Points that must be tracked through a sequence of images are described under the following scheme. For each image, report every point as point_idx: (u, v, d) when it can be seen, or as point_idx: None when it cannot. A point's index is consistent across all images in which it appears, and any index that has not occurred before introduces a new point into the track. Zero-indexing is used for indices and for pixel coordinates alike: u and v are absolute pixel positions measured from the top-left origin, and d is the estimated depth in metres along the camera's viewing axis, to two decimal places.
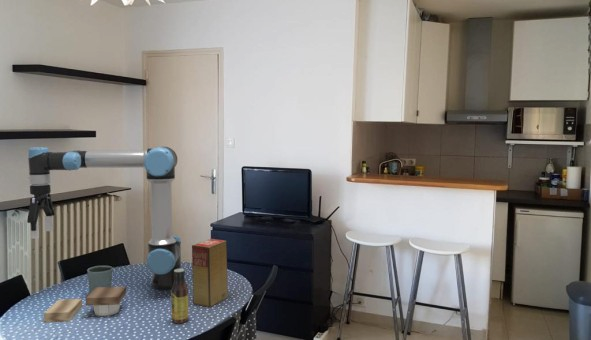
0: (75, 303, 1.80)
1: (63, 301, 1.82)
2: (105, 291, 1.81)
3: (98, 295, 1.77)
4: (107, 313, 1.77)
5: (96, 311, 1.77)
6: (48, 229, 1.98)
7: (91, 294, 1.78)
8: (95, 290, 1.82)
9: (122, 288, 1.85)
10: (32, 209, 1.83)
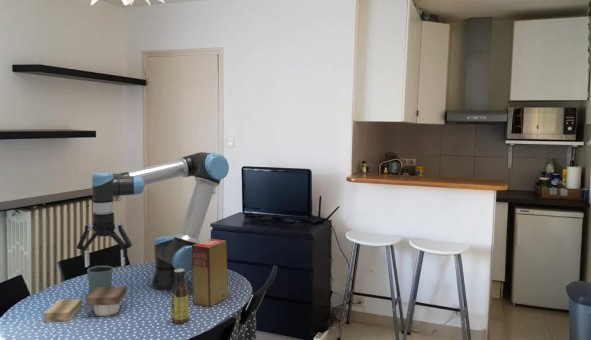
0: (75, 303, 1.80)
1: (63, 301, 1.82)
2: (105, 291, 1.81)
3: (98, 295, 1.77)
4: (107, 313, 1.77)
5: (96, 311, 1.77)
6: None
7: (91, 294, 1.78)
8: (95, 290, 1.82)
9: (122, 288, 1.85)
10: None
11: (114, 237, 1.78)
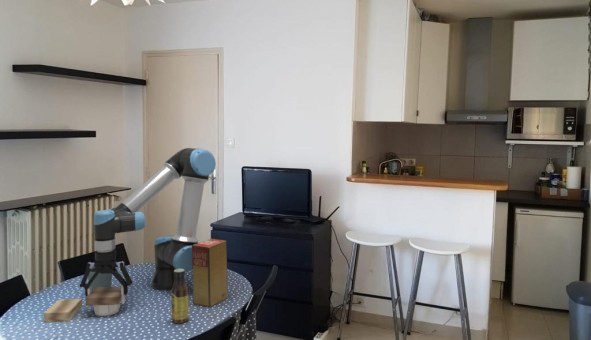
0: (75, 303, 1.80)
1: (63, 301, 1.82)
2: (105, 291, 1.81)
3: (98, 295, 1.77)
4: (107, 313, 1.77)
5: (96, 311, 1.77)
6: None
7: (91, 294, 1.78)
8: (95, 290, 1.82)
9: None
10: None
11: (115, 275, 1.79)
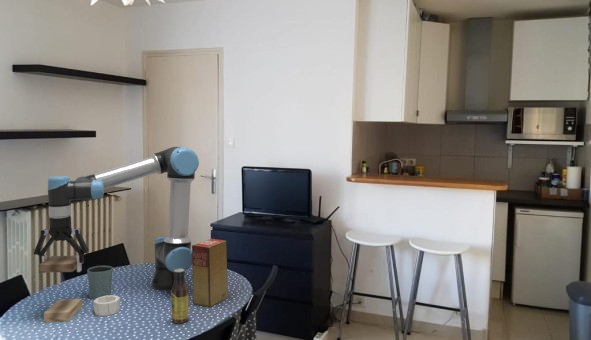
0: (75, 303, 1.80)
1: (63, 301, 1.82)
2: (60, 259, 1.77)
3: (52, 262, 1.73)
4: (107, 313, 1.77)
5: (96, 311, 1.77)
6: None
7: (45, 261, 1.74)
8: (50, 258, 1.78)
9: None
10: None
11: (70, 242, 1.75)
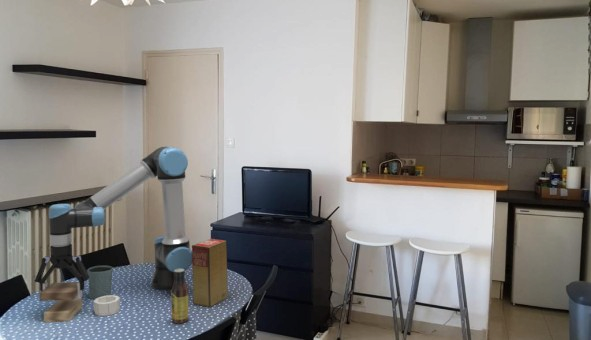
0: (75, 303, 1.80)
1: (63, 301, 1.82)
2: (61, 287, 1.78)
3: (53, 290, 1.74)
4: (107, 313, 1.77)
5: (96, 311, 1.77)
6: None
7: (46, 289, 1.75)
8: (51, 285, 1.79)
9: None
10: None
11: (71, 270, 1.76)
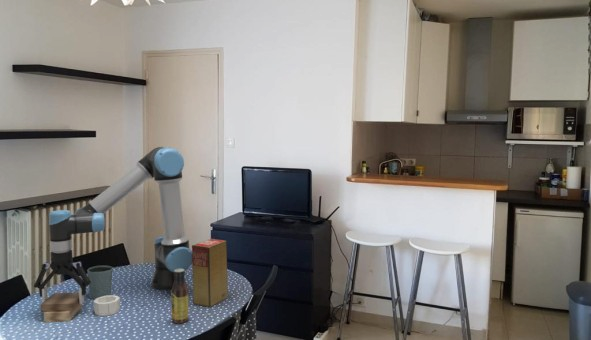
0: None
1: None
2: (62, 297, 1.78)
3: (54, 301, 1.74)
4: (107, 313, 1.77)
5: (96, 311, 1.77)
6: None
7: (47, 300, 1.76)
8: (52, 296, 1.79)
9: None
10: None
11: (72, 275, 1.76)
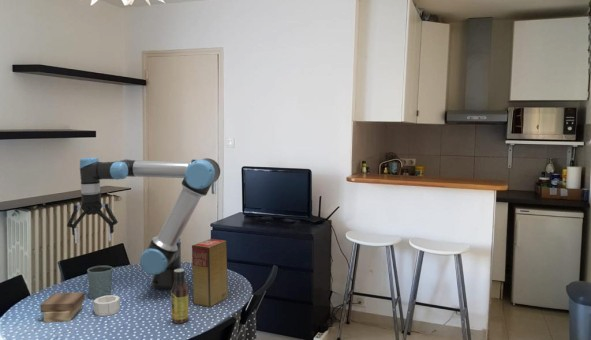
0: None
1: None
2: (62, 297, 1.78)
3: (54, 301, 1.74)
4: (107, 313, 1.77)
5: (96, 311, 1.77)
6: None
7: (47, 300, 1.76)
8: (52, 296, 1.79)
9: (80, 294, 1.82)
10: None
11: (101, 215, 1.98)
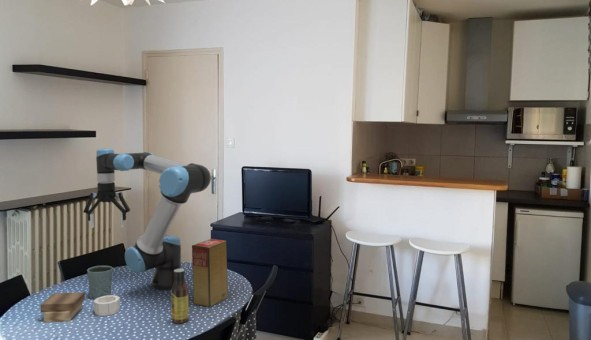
0: None
1: None
2: (62, 297, 1.78)
3: (54, 301, 1.74)
4: (107, 313, 1.77)
5: (96, 311, 1.77)
6: None
7: (47, 300, 1.76)
8: (52, 296, 1.79)
9: (80, 294, 1.82)
10: None
11: (115, 203, 2.11)
